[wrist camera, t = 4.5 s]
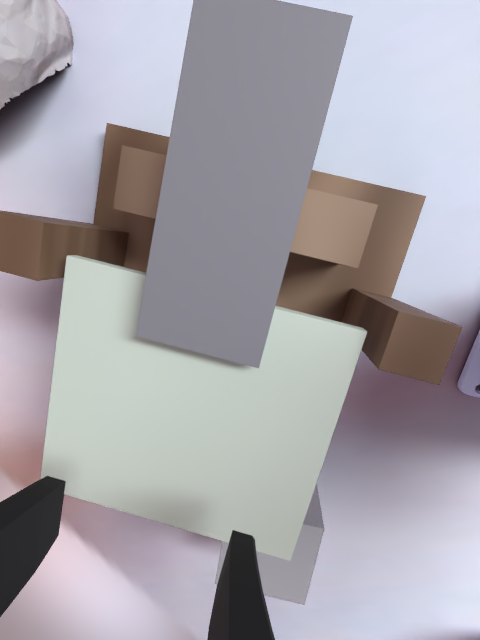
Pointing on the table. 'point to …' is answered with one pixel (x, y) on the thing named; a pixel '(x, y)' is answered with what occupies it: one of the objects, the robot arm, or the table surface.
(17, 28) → the stone
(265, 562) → the granite cube
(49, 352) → the table surface
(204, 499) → the trapdoor
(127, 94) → the table surface
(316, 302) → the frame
